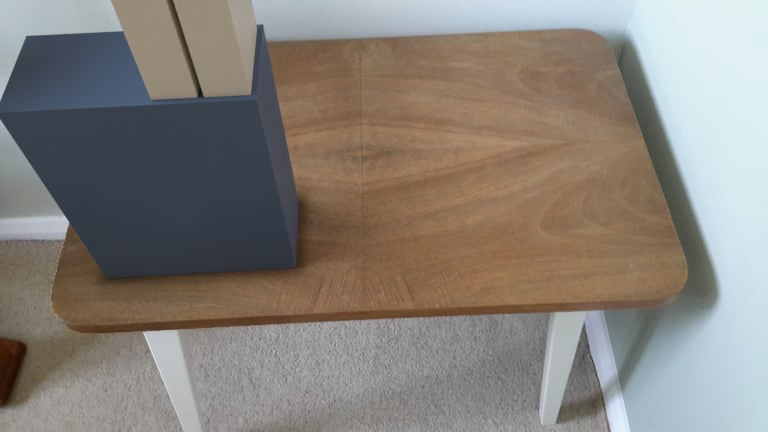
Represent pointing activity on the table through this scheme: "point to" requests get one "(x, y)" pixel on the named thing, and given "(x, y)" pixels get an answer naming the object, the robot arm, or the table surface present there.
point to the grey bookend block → (161, 139)
